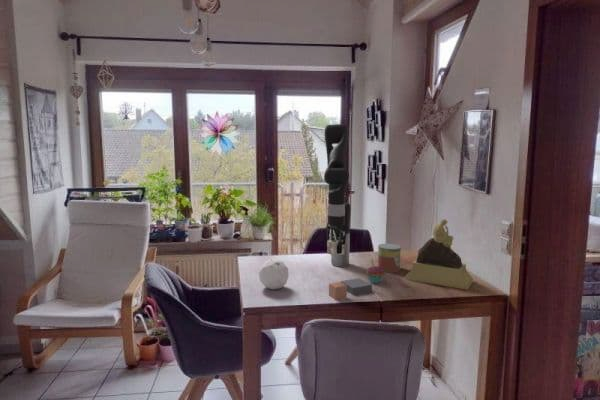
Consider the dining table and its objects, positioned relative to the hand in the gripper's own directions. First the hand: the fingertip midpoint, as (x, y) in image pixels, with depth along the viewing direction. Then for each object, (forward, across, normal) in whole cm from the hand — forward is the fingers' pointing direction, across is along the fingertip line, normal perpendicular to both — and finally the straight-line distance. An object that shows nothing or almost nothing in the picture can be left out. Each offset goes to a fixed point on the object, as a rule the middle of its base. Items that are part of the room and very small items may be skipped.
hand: (335, 251), depth 193 cm
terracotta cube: (+17, +8, -4) cm, 20 cm away
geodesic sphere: (+17, -13, -24) cm, 33 cm away
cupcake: (+18, -1, +22) cm, 28 cm away
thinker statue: (+18, +10, +50) cm, 54 cm away
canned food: (+18, -15, +40) cm, 46 cm away
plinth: (+17, +4, +8) cm, 20 cm away
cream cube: (+1, 0, 0) cm, 1 cm away
